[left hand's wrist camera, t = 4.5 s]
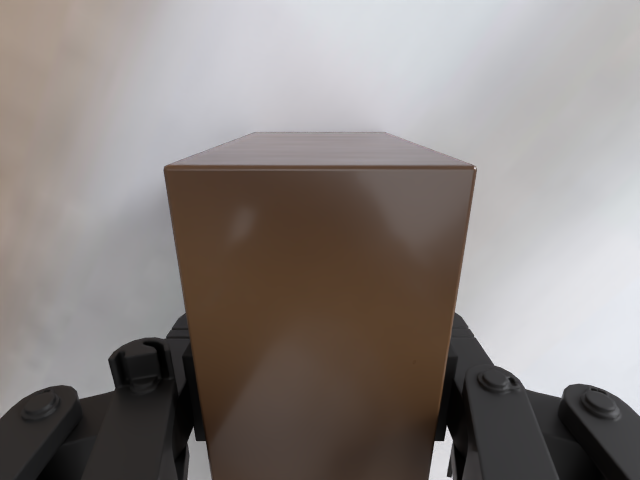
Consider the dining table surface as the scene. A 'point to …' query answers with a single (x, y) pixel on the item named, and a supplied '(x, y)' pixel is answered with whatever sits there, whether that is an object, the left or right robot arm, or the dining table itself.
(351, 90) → the dining table surface
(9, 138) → the dining table surface
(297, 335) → the bar
